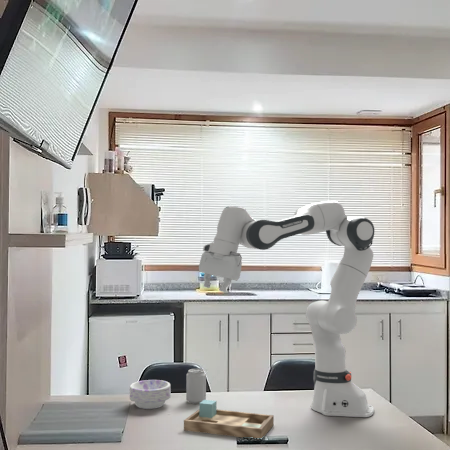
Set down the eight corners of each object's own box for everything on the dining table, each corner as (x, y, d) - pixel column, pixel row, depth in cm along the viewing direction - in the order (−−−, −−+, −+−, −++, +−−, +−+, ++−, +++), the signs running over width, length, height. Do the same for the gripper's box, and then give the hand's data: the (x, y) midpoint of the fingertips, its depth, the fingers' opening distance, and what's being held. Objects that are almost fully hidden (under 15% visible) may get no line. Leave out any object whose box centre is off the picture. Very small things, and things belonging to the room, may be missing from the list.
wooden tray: (273, 425, 186) (273, 415, 186) (261, 439, 172) (261, 429, 172) (201, 417, 195) (201, 407, 195) (183, 430, 181) (183, 420, 181)
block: (216, 414, 191) (216, 400, 191) (211, 418, 187) (211, 404, 187) (204, 412, 193) (204, 399, 193) (199, 416, 189) (199, 403, 189)
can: (203, 404, 210) (203, 372, 210) (184, 403, 211) (184, 371, 212) (207, 399, 217) (208, 368, 218) (189, 398, 219) (189, 367, 219)
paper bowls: (130, 413, 199) (131, 390, 200) (128, 401, 214) (128, 380, 214) (173, 410, 203) (173, 388, 203) (167, 399, 218) (167, 378, 218)
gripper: (249, 255, 187) (239, 296, 186) (214, 249, 204) (205, 286, 202) (235, 251, 184) (224, 292, 182) (201, 245, 200) (191, 283, 199)
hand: (214, 289), depth 192 cm, fingers open, 8 cm apart
